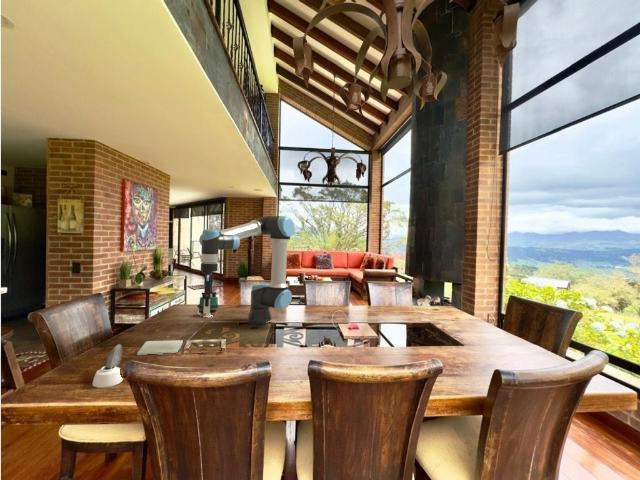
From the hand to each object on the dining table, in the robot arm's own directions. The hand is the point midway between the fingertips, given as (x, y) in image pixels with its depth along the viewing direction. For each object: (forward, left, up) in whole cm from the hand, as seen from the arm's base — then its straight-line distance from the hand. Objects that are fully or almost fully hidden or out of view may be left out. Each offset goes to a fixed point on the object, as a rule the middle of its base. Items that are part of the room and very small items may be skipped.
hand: (207, 310), depth 155 cm
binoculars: (0, 0, -2) cm, 2 cm away
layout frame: (0, 0, -17) cm, 17 cm away
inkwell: (+30, +28, -17) cm, 45 cm away
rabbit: (+3, -55, -17) cm, 58 cm away
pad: (+19, 0, -17) cm, 26 cm away
